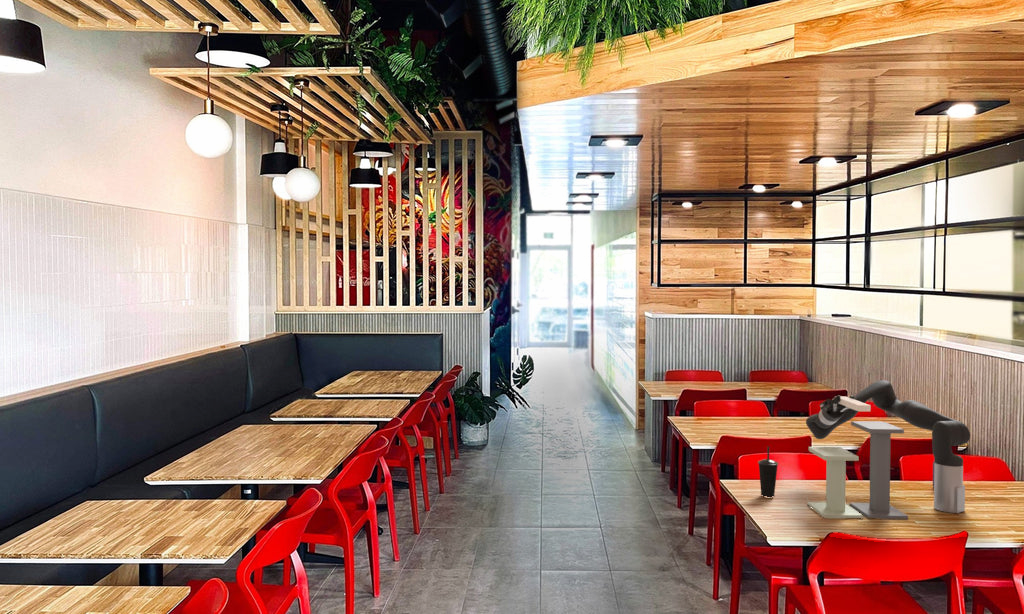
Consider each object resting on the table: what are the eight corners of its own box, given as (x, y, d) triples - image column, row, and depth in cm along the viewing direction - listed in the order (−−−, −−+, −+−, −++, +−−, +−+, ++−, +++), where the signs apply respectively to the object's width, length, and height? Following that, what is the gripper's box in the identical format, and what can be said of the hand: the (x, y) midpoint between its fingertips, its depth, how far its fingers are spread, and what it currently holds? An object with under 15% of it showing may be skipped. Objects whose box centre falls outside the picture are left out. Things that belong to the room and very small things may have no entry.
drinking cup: (778, 495, 294) (779, 445, 293) (777, 500, 287) (777, 449, 287) (758, 493, 297) (759, 443, 297) (756, 497, 290) (757, 447, 290)
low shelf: (805, 503, 282) (806, 446, 282) (842, 504, 282) (843, 447, 281) (823, 518, 264) (824, 457, 264) (863, 518, 264) (863, 457, 263)
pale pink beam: (834, 401, 290) (834, 396, 290) (846, 402, 290) (846, 396, 290) (858, 411, 268) (858, 405, 268) (870, 411, 268) (870, 405, 268)
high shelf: (847, 504, 282) (848, 421, 281) (884, 504, 281) (885, 421, 281) (868, 518, 264) (869, 430, 263) (908, 519, 263) (909, 430, 263)
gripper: (811, 404, 302) (825, 388, 287) (847, 404, 301) (862, 388, 286) (814, 421, 298) (829, 406, 283) (850, 422, 298) (866, 407, 283)
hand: (846, 397), depth 285 cm, fingers closed on pale pink beam, 4 cm apart
